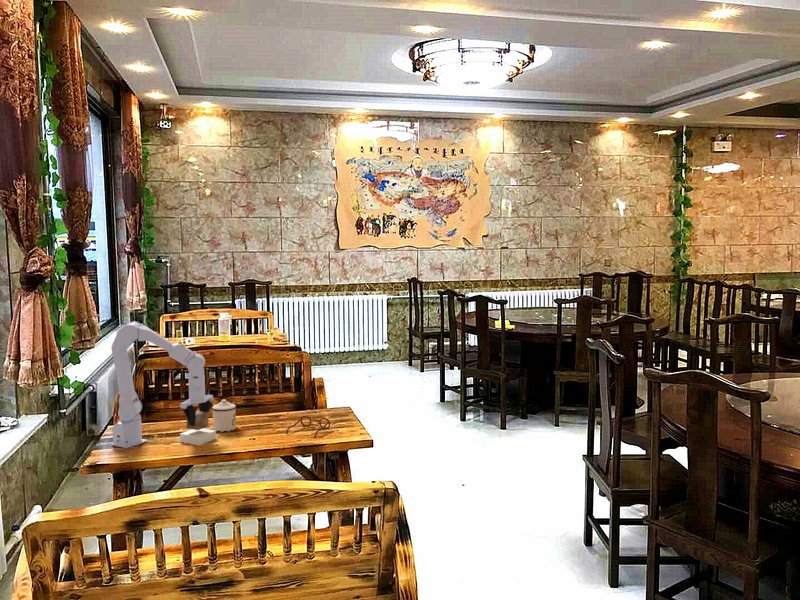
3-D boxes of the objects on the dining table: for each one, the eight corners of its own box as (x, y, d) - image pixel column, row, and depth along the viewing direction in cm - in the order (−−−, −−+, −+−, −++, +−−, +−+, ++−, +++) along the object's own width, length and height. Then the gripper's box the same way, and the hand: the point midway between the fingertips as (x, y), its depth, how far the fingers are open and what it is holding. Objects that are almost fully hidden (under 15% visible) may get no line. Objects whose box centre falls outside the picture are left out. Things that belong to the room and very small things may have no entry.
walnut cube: (197, 430, 240) (197, 415, 240) (186, 428, 243) (186, 413, 242) (208, 426, 245) (208, 411, 245) (197, 424, 248) (197, 410, 247)
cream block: (198, 446, 238) (198, 437, 238) (180, 443, 242) (179, 433, 242) (216, 439, 247) (215, 430, 246) (197, 436, 250) (197, 427, 250)
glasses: (330, 430, 260) (330, 417, 259) (314, 439, 248) (314, 426, 247) (301, 426, 264) (301, 414, 264) (284, 435, 252) (284, 422, 252)
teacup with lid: (237, 430, 257) (237, 401, 256) (213, 433, 254) (212, 403, 253) (234, 423, 268) (233, 394, 267) (211, 425, 265) (210, 396, 264)
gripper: (190, 392, 234) (191, 429, 236) (219, 384, 247) (219, 420, 248) (175, 390, 238) (176, 427, 239) (205, 382, 250) (205, 417, 252)
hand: (197, 423), depth 244 cm, fingers closed on walnut cube, 5 cm apart
